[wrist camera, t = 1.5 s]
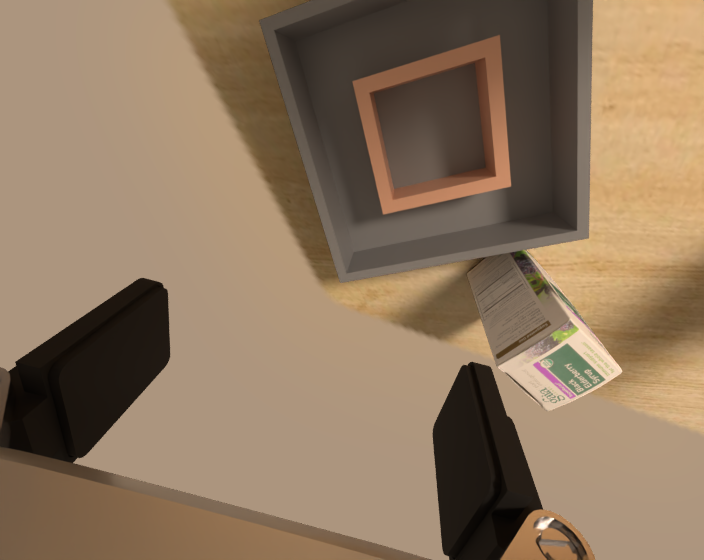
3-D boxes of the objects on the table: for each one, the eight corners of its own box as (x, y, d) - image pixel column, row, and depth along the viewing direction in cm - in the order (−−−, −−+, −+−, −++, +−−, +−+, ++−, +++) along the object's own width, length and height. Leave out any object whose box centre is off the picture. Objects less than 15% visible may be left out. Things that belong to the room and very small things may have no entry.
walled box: (553, -63, 24) (594, -108, 19) (558, 215, 32) (588, 238, 27) (285, 34, 29) (258, 20, 24) (349, 256, 37) (340, 283, 32)
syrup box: (549, 272, 35) (632, 372, 22) (499, 308, 38) (549, 417, 25) (511, 234, 34) (575, 317, 21) (462, 274, 36) (494, 369, 24)
